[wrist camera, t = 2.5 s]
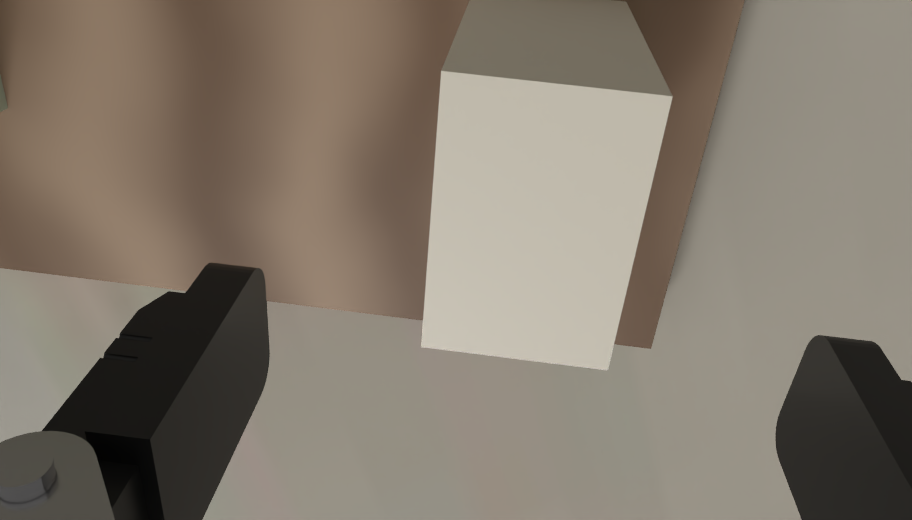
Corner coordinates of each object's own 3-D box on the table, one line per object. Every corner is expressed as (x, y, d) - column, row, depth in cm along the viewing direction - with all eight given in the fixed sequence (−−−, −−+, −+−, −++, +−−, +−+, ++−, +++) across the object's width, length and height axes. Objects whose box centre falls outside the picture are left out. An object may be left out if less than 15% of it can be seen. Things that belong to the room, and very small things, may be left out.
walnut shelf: (781, -223, 19) (829, -232, 15) (643, 315, 27) (657, 379, 24) (-289, -321, 20) (-443, -348, 17) (-104, 223, 28) (-185, 273, 25)
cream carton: (593, 206, 23) (617, 371, 16) (456, 190, 23) (421, 347, 16) (633, 2, 20) (684, 97, 13) (475, -15, 20) (441, 70, 13)
